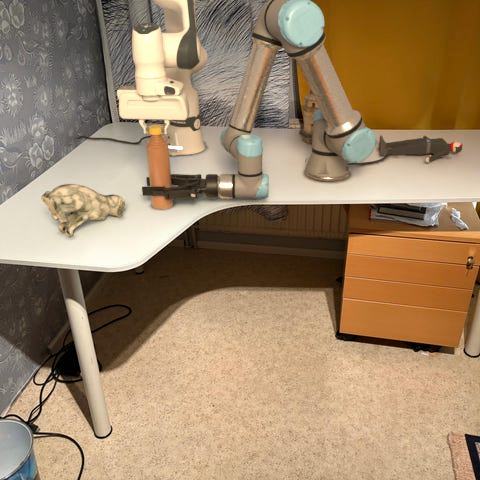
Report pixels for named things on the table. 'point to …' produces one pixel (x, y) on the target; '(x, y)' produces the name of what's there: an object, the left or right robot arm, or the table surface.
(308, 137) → the miniature building
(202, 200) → the table surface
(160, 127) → the cap
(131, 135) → the table surface
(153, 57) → the left robot arm
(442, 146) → the toy
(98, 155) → the table surface
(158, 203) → the bottle
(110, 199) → the figurine
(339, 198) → the table surface
